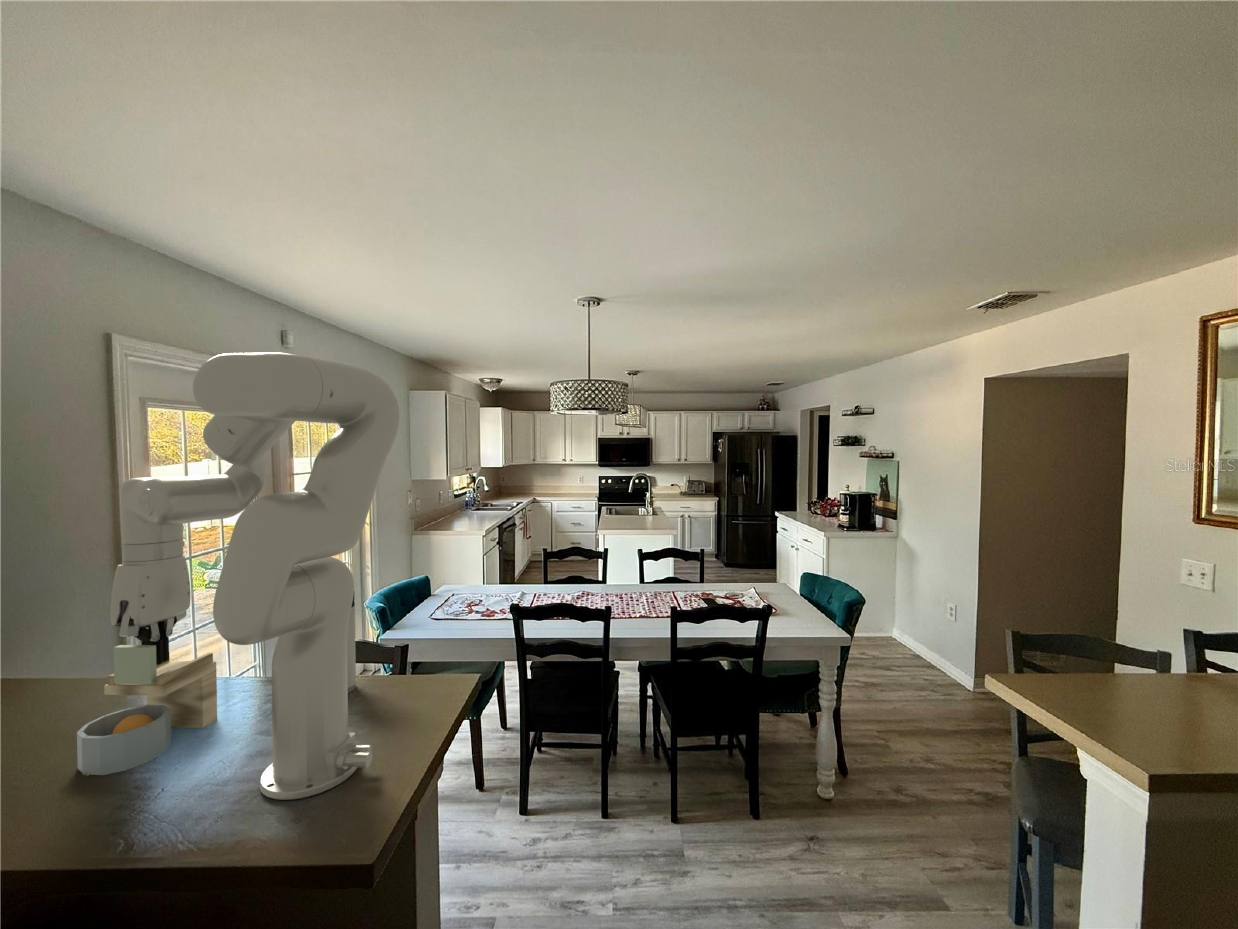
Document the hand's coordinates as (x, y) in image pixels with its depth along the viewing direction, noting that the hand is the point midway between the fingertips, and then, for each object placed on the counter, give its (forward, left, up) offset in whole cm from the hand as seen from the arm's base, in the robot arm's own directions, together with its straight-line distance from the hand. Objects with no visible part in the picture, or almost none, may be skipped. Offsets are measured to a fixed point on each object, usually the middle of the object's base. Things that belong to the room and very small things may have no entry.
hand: (155, 662), depth 86 cm
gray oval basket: (0, +5, -13) cm, 14 cm away
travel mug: (-20, -18, -13) cm, 30 cm away
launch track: (0, -1, -13) cm, 13 cm away
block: (0, +3, -2) cm, 4 cm away
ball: (0, +4, -10) cm, 10 cm away
